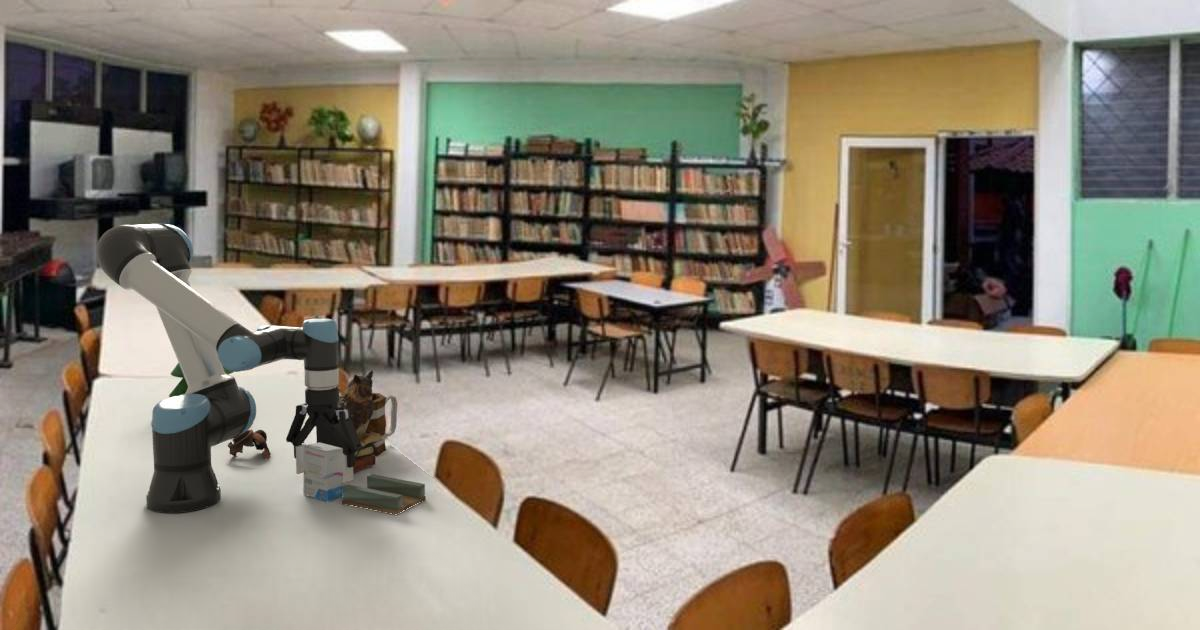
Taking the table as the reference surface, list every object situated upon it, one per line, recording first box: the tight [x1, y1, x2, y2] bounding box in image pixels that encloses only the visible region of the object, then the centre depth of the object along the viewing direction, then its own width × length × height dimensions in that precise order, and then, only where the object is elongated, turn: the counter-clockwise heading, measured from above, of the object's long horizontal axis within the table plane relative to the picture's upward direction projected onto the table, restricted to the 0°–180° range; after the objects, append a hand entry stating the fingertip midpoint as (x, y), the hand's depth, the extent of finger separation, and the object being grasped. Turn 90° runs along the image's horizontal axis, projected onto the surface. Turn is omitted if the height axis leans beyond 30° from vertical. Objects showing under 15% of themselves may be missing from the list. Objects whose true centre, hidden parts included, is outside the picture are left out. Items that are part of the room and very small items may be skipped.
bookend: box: [315, 370, 382, 473], centre depth 225 cm, size 15×11×25 cm
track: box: [341, 473, 427, 515], centre depth 204 cm, size 11×15×4 cm
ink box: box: [302, 442, 344, 502], centre depth 207 cm, size 9×5×12 cm, turn 58°
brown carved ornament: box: [227, 429, 271, 460], centre depth 236 cm, size 12×10×8 cm
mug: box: [339, 392, 398, 457], centre depth 244 cm, size 20×14×15 cm
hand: (324, 476), depth 207 cm, fingers open, 13 cm apart
